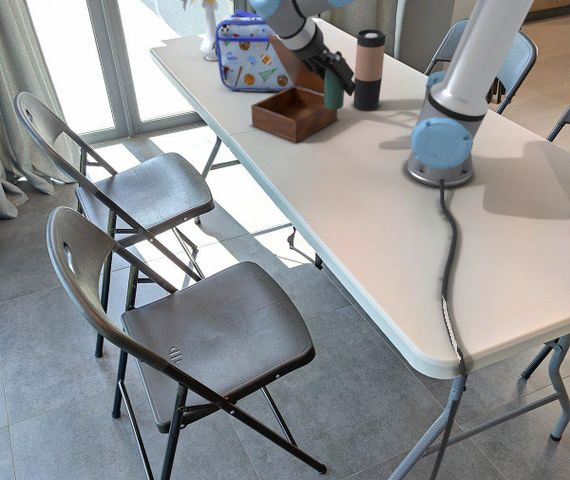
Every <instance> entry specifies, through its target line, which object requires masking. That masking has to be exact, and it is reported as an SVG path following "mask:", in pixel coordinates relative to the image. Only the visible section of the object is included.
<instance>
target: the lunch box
mask: <svg viewBox="0 0 570 480" xmlns="http://www.w3.org/2000/svg"><path fill="white" fill-rule="evenodd" d="M234 13H235V14H228V15H225V16H223V17H222V18H221V20H220V21H219V23H218V24H216V31H215V38H214V42H213V45H212V50H213V49H214V48H215V54H216V55H217V57H218V60H217V65H218V71H219V77H220V81H221V83H222V85H223V86H224V87H225V88H227V89H228V90H232V91H237V92H240V91H243V92H281V91H283V90H285V89H287V88H290V87H292V86H294V85H293V83H292V81H291V79H290V77H289V76H288V74H287V72H286V70H285V68H284V66H283V65H282V63H281V61H280V59H279V57H278V56H277V54H276V52H275V50H274V48H273V46H272V45H271V43H270V41H269V39H268V35H273V36H276V37H277V35H276V34H275V32H274V31H273V30H272V29H271V28H270V27H269V26H268V25H267V24H266V23H265V22H264V21H263V20H262V19H261V18H260V17H259V16H258V13H253V12H250V11H249V12H248V11H246V10H245V11H244V10H243V9H240V8H237V9H236V10H235V12H234ZM295 86H296V85H295Z"/></svg>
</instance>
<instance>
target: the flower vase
mask: <svg viewBox="0 0 570 480" xmlns="http://www.w3.org/2000/svg"><path fill="white" fill-rule="evenodd" d="M200 1H201V7H202V8H203V9H204V11H205V20H206V31H205V33H206V34H205V37H204V38H203V40H202V41H201V43H200V45H199V46H200V47H199V48H200V52H201V53H202V55H204V56H205V58H206V60H208V61H212V62H213V61H218V57H217V55H216V54H215V48H214V49H213V50H212V45H213V42H214V38H215V31H216V27H217V22H216V14H215V11H217V10H218V9H219V4H218V2H217V0H190V2H189V6H190V8H193V7H194V6H195V4H196V3H197V2H200ZM180 2H182V8H183V11H184V12H185V11H186V7H187V3H188V0H180ZM230 2H234V0H230Z"/></svg>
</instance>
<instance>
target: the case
mask: <svg viewBox="0 0 570 480" xmlns="http://www.w3.org/2000/svg"><path fill="white" fill-rule="evenodd" d="M250 108H251V110H250V111H251V123H252V127H254V128H256V129H259V130H262V131H263V132H267V133H269V134H272V135H274V136H277V137H280V138H282V139H284V140H287V141H289V142H292V143H294V144H297V143H298V142H300V141H302V140H304V139H306V138H307V137H309V136H311V135H313V134H315V133H316V132H318V131H320V130H321V129H324V128H325V127H327V126H328V125H331V124H333V123H334V122H336V121H338V109H337V110H331V109H327V108H325V107H324V94H321V93H318V92H314V91H311V90H308V89H305V88H302V87H299V86H295V85H294V86H292V87H290V88H287V89H285V90H281V91H278V92H276V93H275V94H273V95H270V96H269V97H267V98H264V99H262V100H260V101H258V102H256V103H253V104H252V105H250Z"/></svg>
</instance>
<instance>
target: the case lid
mask: <svg viewBox="0 0 570 480" xmlns="http://www.w3.org/2000/svg"><path fill="white" fill-rule="evenodd" d="M268 39H269V41H270V43H271V45H272V46H273V48H274V50H275V52H276V54H277V56H278V57H279V59H280V61H281V63H282V65H283V66H284V68H285V70H286V72H287V74H288V76H289V77H290V79H291V81H292V83H293V85H296V86H298V87H301V88H304V89H307V90H310V91H313V92H316V93H319V94H322V95H324V81H323V80H322V79H321V78H320V76H318V75H316V74H315V73H314V71H312V72H309V71H308V70H307V69H306V68H305V67H304V65H303V64H302V63H301V62H300V61H299V60H298V59H297V58H296V57H295V56H294V55H293V54H292V53H291V52H290V51H289V49H288V48H287V47H286V46H285V45H284V44H283V43H282V42H281V40H280V39H279V38H278V37H276V36H273V35H268ZM309 66H310V65H309ZM323 69H324V68H323Z"/></svg>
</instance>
